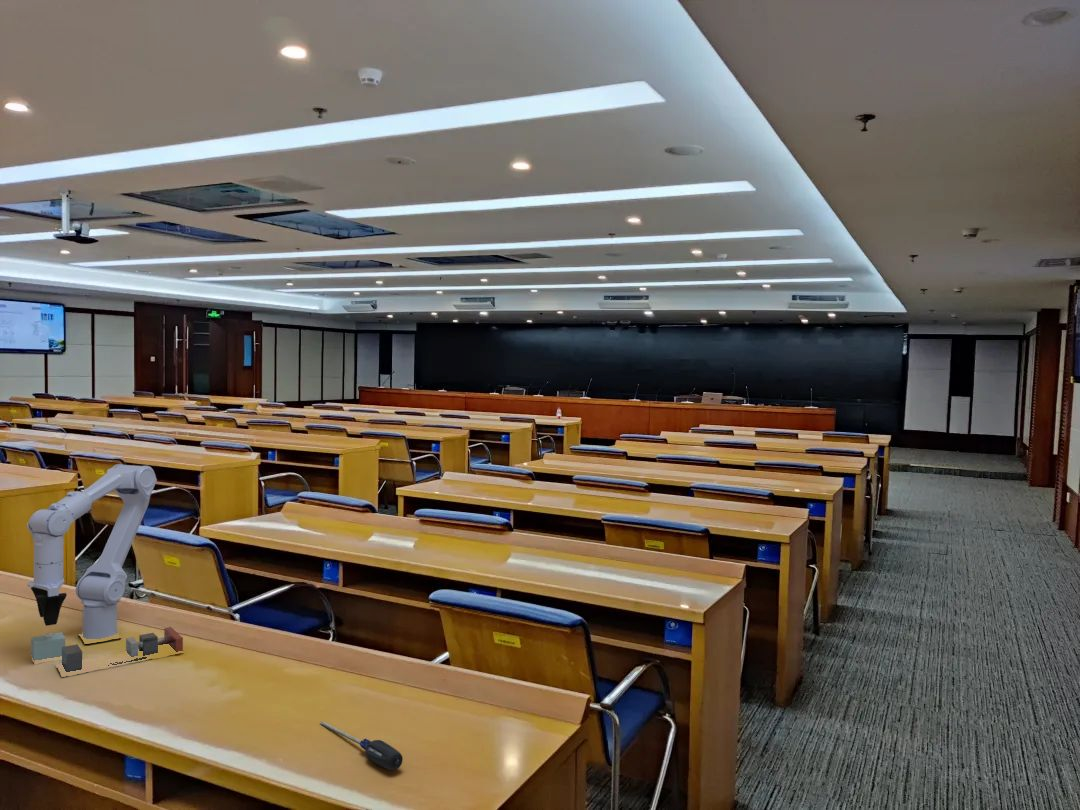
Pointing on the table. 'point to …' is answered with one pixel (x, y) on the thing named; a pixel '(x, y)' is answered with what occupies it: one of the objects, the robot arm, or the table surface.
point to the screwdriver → (375, 750)
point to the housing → (47, 646)
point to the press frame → (74, 662)
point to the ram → (169, 638)
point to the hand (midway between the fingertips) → (48, 620)
